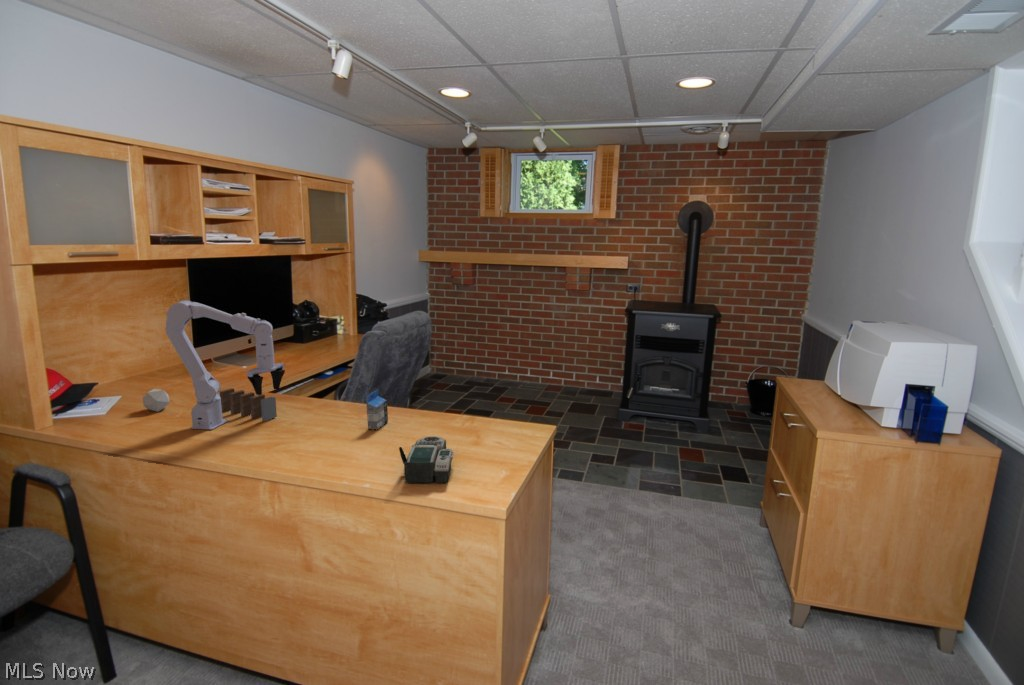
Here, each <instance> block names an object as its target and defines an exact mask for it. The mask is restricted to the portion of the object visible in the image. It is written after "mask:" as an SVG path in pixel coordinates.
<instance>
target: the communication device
mask: <svg viewBox="0 0 1024 685" xmlns="http://www.w3.org/2000/svg"><path fill="white" fill-rule="evenodd" d="M398 450H399V453H400V454H399V455H400V458H401V461H402V463H403V465H404V466H403V471H404V472H403V473H404V474H403V475H404V480H405V482H406V483H432V482H434V481H435V482H436V483H447V482H448V481H449V479H450V474H451V472H452V461H453V459H454V455H455V452H454V451H453V449H452V448H447V439H445V438H443V437H441V436H435V435H434V436H424V437H421V438H419V439H417V440H416V441H415V443H414V444H411V448H410V450H409V451H408V454H407V456H406V454H405V452H404V449H403V447H402V446H400V447H399V448H398Z"/></svg>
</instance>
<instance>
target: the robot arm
mask: <svg viewBox="0 0 1024 685" xmlns="http://www.w3.org/2000/svg"><path fill="white" fill-rule="evenodd" d="M165 315H166V321H165V334H166V335H167V337H168V339H169V341H170V342H171V344H172V346H173V348H174V350H175V351H176V353H177V354H178V357H179V358H180V360H181V362H182V364H183V365H184V367H185V369H186V370H187V372H188V374H189V375H190V378H191V380H192V386H193V388H194V393H195V394H194V395H195V398H196V404H195V405H194V406H193V407H192V408H191V410H190V412H191V413H190V414H191V424H192V426H190V429H192V430H193V429H194V430H209V431H211V430H214V429H217V428H218V427H220V426H222V425H223V424H225V423H227V422H229V419H225V418H223V412H222V407H221V397H220V394H219V393H220V392H219V391H221V383H220V382H219V381H218V380H217V379H216V378H214V376H213V375H212V374H211V373H210V372H209V371H208V370H207V368H206V367H205V365H204V363H203V362H202V360H201V358H200V356H199V354H198V352H197V350H196V349H195V347H194V345H193V343H192V342H191V340H190V338H189V336H188V335H187V333H186V331H185V329H186V327H187V326H188V323H189V322H190V321H191V319H200V318H208V319H211V320H215V321H218V322H222V323H226V324H228V325H230V327H231V329H232V330H235V331H238V332H242V333H246V334H248V335H253V336H254V337H255V342H254V343H255V353H256V354H255V357H256V367H254V368H251V369H249V370H246V377H247V379H248V381H249V382H250V384H251V385H252V388H253V390H254V393H255V394H256V396H257V395H262V394H263V389H262V386H263V380H264V376H260V375H261V374H266V373H270V375H271V378H272V387H273V389H274V390H277V391H278V390H280V386H281V382H282V379H283V376H284V374H285V373H286V370H285V363H284V362H278V363H277V362H276V363H275V351H274V341H273V339H274V338H273V330H274V329H273V328H274V327H273V325H272V323H270V322H269V321H267V320H265V319H261V318H258V317H257V318H255V317H252V316H248V315H247V313H245V312H241V313H239V312H238V313H235V314H231V313H228V312H226V311H223V310H220V309H217V308H214V307H213V306H209V305H206V304H203V303H200V302H196V301H191V300H189V299H183V300H180V301H178V302H175V303H174V304H172V305H171V306H170V307H169V309H168V310H167V312H166V313H165Z"/></svg>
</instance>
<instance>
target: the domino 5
mask: <svg viewBox="0 0 1024 685" xmlns="http://www.w3.org/2000/svg"><path fill="white" fill-rule="evenodd" d="M276 401H277V400H276V396H272V395H271V396H269V397H265V399H262V400H261V410H262V417H261V420H262V421H261V422H264V421H266V422H269V421H271V420H270V419H272V418H275V417H277V418H278V416H277V402H276ZM275 419H276V418H275ZM268 420H269V421H268ZM272 420H273V419H272Z"/></svg>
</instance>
